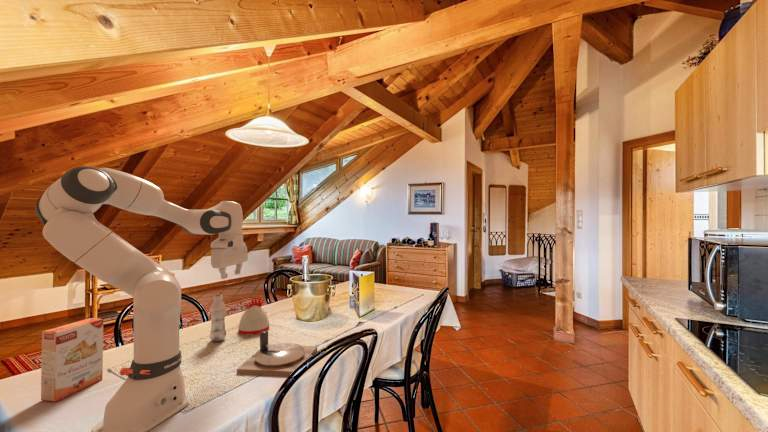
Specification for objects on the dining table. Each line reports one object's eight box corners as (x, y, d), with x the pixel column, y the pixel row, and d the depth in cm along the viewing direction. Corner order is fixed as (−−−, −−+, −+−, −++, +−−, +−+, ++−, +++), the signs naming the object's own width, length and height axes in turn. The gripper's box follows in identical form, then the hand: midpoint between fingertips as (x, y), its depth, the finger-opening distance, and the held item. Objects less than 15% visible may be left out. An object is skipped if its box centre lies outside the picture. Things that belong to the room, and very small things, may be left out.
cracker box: (56, 403, 97) (56, 332, 97) (40, 401, 98) (39, 331, 98) (104, 379, 110) (104, 317, 110) (89, 378, 111) (89, 316, 111)
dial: (312, 349, 131) (312, 327, 131) (288, 369, 113) (288, 345, 113) (273, 344, 135) (273, 324, 135) (244, 363, 118) (243, 340, 118)
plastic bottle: (223, 336, 149) (222, 293, 149) (228, 340, 145) (228, 295, 145) (207, 340, 145) (207, 295, 145) (212, 344, 140) (212, 298, 140)
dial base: (297, 376, 112) (297, 371, 112) (236, 373, 114) (236, 368, 114) (317, 350, 134) (317, 345, 134) (265, 348, 136) (265, 343, 136)
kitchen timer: (272, 330, 157) (272, 299, 157) (242, 337, 149) (242, 304, 149) (264, 323, 168) (264, 294, 168) (236, 328, 161) (236, 297, 161)
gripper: (237, 239, 141) (237, 271, 141) (207, 243, 121) (207, 281, 121) (251, 239, 140) (251, 271, 140) (223, 243, 120) (223, 281, 120)
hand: (231, 276), depth 130 cm, fingers open, 8 cm apart
